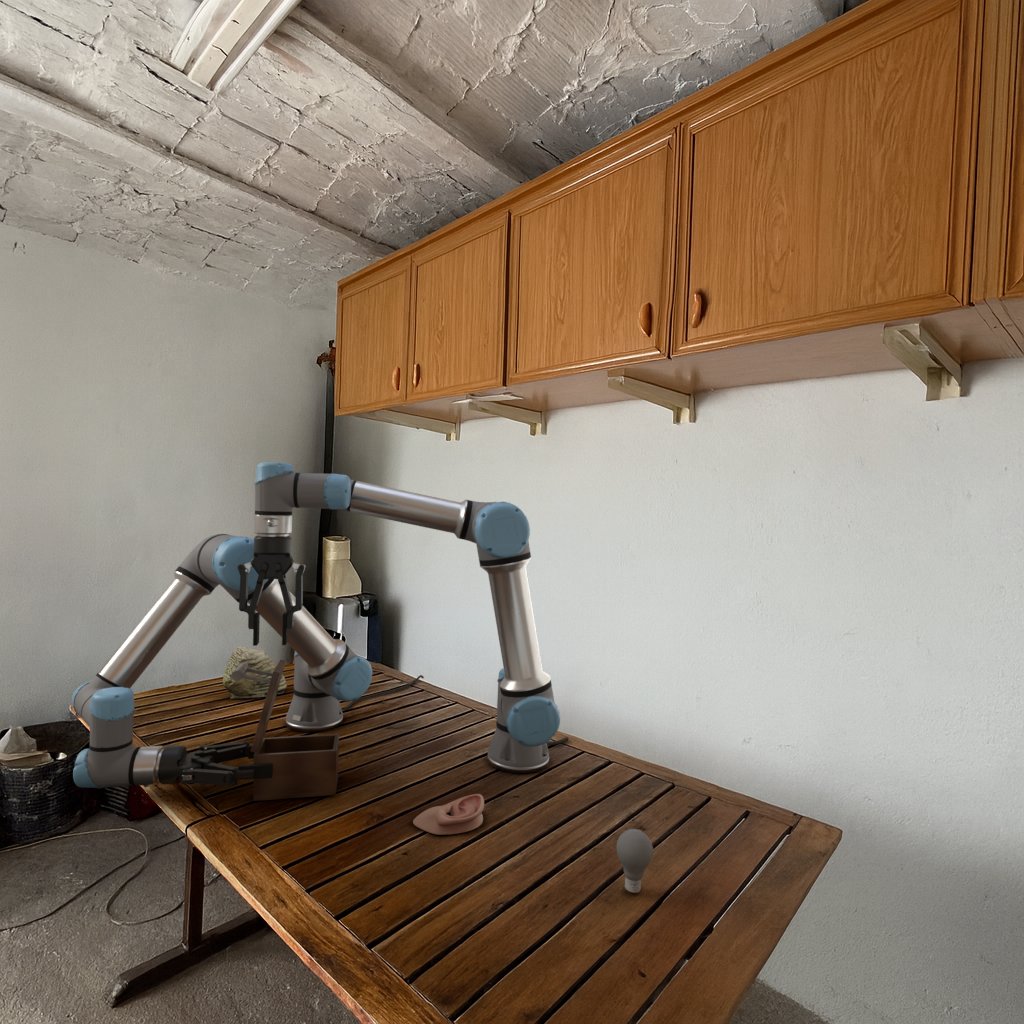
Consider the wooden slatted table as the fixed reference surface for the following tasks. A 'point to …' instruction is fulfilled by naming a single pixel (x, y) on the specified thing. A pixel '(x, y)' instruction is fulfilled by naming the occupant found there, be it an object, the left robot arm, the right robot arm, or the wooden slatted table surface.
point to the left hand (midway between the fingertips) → (276, 760)
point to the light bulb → (634, 857)
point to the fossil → (250, 673)
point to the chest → (298, 767)
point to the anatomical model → (452, 816)
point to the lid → (270, 696)
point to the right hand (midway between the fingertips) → (270, 643)
